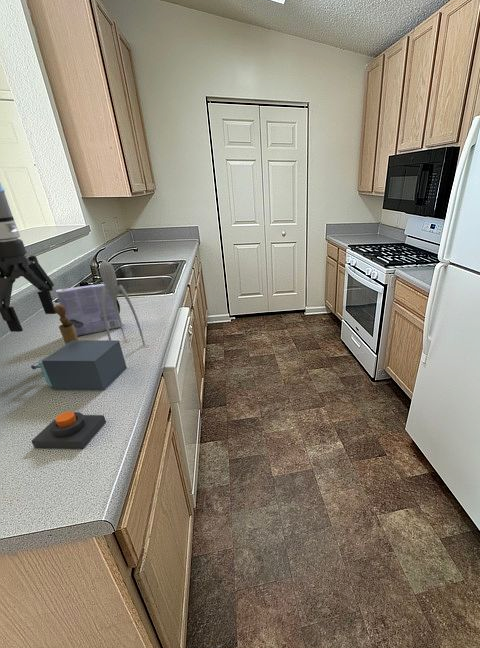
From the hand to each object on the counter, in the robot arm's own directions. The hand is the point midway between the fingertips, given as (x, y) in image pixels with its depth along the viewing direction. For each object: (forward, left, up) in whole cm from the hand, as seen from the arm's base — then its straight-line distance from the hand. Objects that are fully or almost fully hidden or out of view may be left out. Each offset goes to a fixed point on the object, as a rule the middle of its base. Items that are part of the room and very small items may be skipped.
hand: (35, 321), depth 91 cm
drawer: (+6, 0, -17) cm, 18 cm away
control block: (+21, -24, -18) cm, 37 cm away
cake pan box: (-8, +35, -18) cm, 40 cm away
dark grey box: (+11, 0, -18) cm, 21 cm away
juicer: (+12, +22, -18) cm, 31 cm away
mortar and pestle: (-3, +14, -18) cm, 23 cm away
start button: (+21, -24, -15) cm, 35 cm away
